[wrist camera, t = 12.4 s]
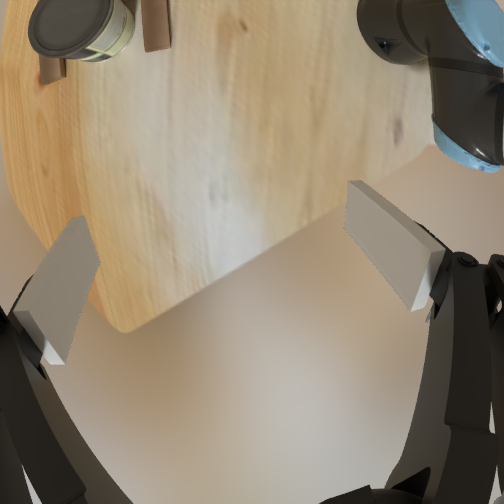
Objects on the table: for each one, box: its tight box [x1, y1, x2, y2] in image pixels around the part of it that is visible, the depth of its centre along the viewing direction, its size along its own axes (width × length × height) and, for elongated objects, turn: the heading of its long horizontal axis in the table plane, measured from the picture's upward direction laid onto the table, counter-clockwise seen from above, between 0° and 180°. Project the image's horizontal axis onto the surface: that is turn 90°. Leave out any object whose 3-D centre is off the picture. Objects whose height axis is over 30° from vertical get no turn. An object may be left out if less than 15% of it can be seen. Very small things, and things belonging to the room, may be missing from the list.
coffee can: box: [28, 0, 135, 63], centre depth 23 cm, size 10×10×14 cm
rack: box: [38, 0, 171, 85], centre depth 25 cm, size 20×16×4 cm
